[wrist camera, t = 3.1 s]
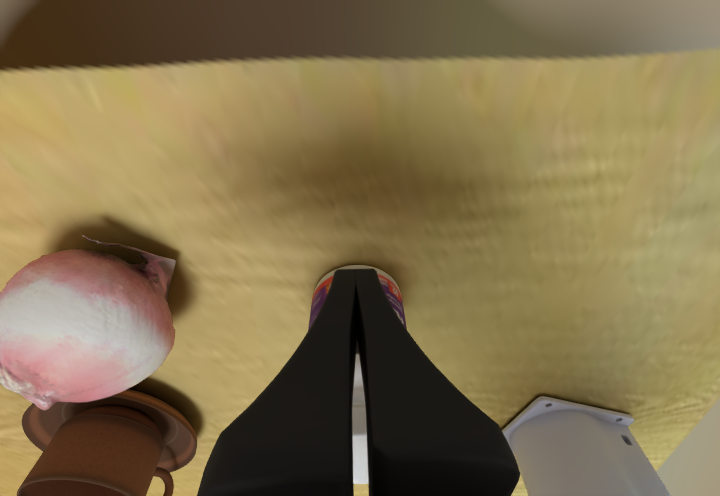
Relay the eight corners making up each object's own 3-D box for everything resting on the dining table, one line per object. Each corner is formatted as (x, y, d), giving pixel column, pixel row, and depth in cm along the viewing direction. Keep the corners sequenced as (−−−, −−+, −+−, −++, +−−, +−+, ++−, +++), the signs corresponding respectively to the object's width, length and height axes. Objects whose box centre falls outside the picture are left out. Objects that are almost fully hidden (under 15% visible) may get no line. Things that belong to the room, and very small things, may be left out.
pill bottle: (411, 269, 22) (447, 433, 14) (388, 331, 25) (406, 495, 17) (319, 254, 21) (301, 420, 13) (306, 320, 24) (286, 487, 16)
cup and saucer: (228, 403, 29) (203, 491, 24) (173, 465, 35) (144, 548, 30) (58, 346, 25) (-16, 439, 20) (27, 428, 30) (-37, 517, 25)
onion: (17, 240, 20) (-121, 347, 14) (145, 203, 19) (53, 302, 13) (114, 337, 24) (40, 449, 19) (221, 311, 23) (179, 421, 17)
